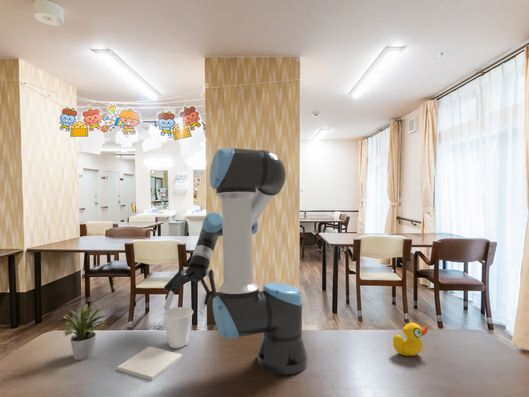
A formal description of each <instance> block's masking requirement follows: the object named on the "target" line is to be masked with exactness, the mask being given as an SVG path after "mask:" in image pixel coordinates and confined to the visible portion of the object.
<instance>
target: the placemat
mask: <svg viewBox="0 0 529 397" xmlns="http://www.w3.org/2000/svg"><path fill="white" fill-rule="evenodd" d="M182 358H183V354H181V353H177V352H172V351H168V350H166V349H162V348H157V347H154V346H148V347H146V348H145V349H143V350H141V351H139V353H137V354H135V355H133V356H132V357H130V358H129V359H127V360H126V361H124V362H123V363H121V364H119V365H118V366H116V370H117V371H119V372H122V373H126V374H129V375H133V376H135V377H140V378H142V379H146V380H150V381H154V380H155V379H157V378H158V377H159V376H160V375H162V374H163V373H164V372H166V371H167V370H168V369H169V368H171V367H172V366H173V365H175V364H176V363H177V362H178V361H180V360H182Z"/></svg>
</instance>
